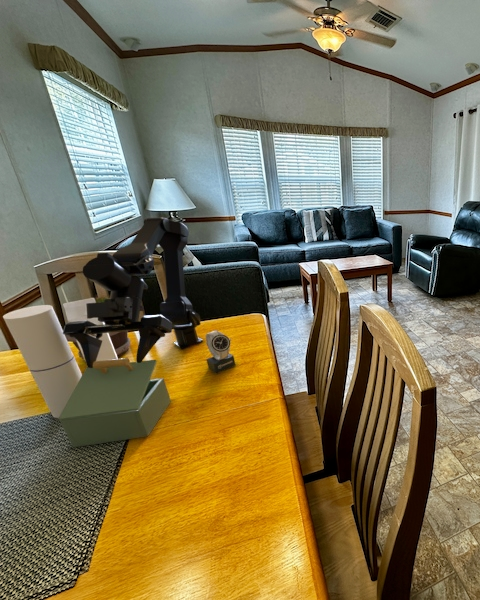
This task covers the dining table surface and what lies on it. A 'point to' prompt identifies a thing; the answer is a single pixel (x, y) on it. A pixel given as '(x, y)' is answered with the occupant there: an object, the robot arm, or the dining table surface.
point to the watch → (219, 352)
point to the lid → (109, 388)
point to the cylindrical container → (45, 353)
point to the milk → (79, 313)
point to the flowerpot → (117, 338)
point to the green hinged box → (120, 420)
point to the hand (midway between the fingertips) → (114, 365)
